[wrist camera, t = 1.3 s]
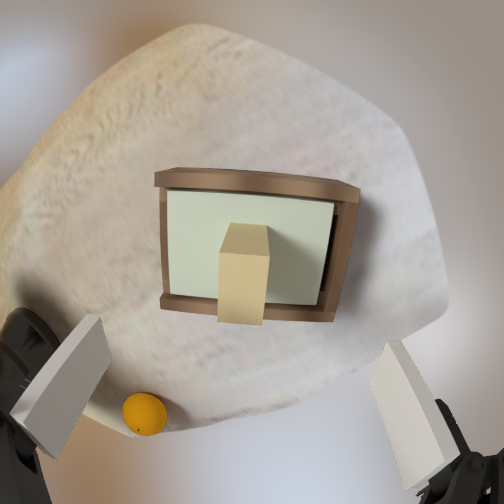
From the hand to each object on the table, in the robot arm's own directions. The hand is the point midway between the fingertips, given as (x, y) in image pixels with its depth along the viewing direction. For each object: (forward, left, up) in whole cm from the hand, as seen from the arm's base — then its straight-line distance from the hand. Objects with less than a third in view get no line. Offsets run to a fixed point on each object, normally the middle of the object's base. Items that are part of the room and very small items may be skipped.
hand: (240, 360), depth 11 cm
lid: (0, 0, -14) cm, 14 cm away
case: (0, 0, -19) cm, 19 cm away
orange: (-16, -32, -20) cm, 41 cm away
